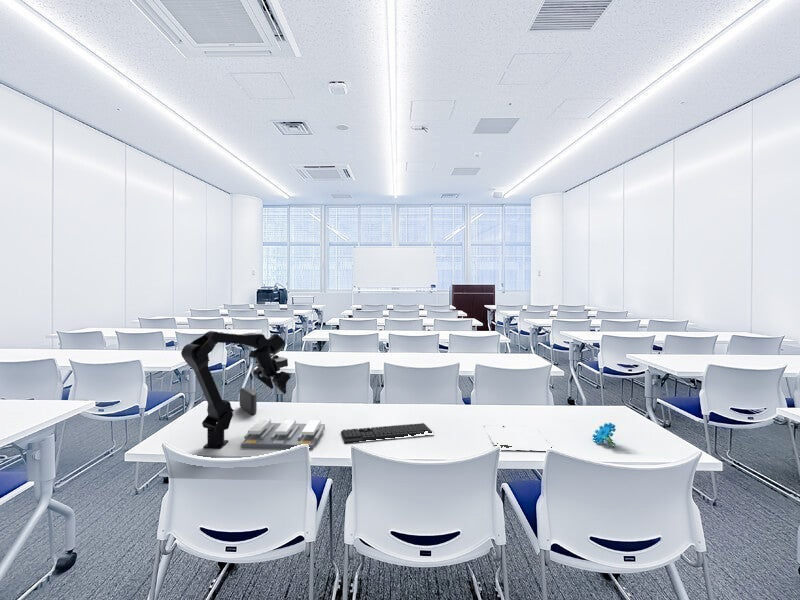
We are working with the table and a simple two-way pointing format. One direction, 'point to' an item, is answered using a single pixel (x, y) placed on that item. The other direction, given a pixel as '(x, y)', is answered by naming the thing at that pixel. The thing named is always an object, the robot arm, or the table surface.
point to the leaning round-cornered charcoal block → (248, 400)
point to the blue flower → (604, 433)
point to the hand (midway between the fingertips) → (278, 390)
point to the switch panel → (281, 437)
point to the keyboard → (383, 432)
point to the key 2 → (311, 427)
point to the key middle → (285, 427)
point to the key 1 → (259, 426)
